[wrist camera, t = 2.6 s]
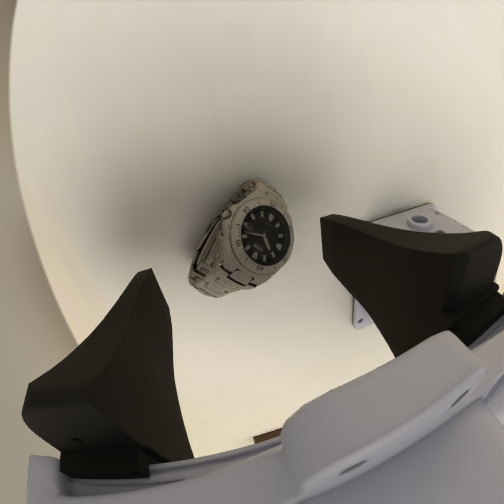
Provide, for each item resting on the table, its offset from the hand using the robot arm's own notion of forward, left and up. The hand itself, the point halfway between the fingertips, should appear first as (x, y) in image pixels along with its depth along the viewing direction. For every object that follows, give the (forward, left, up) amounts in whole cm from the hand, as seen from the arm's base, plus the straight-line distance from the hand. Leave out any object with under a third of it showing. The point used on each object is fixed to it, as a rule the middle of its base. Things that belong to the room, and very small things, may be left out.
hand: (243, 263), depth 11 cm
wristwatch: (0, 0, -5) cm, 5 cm away
